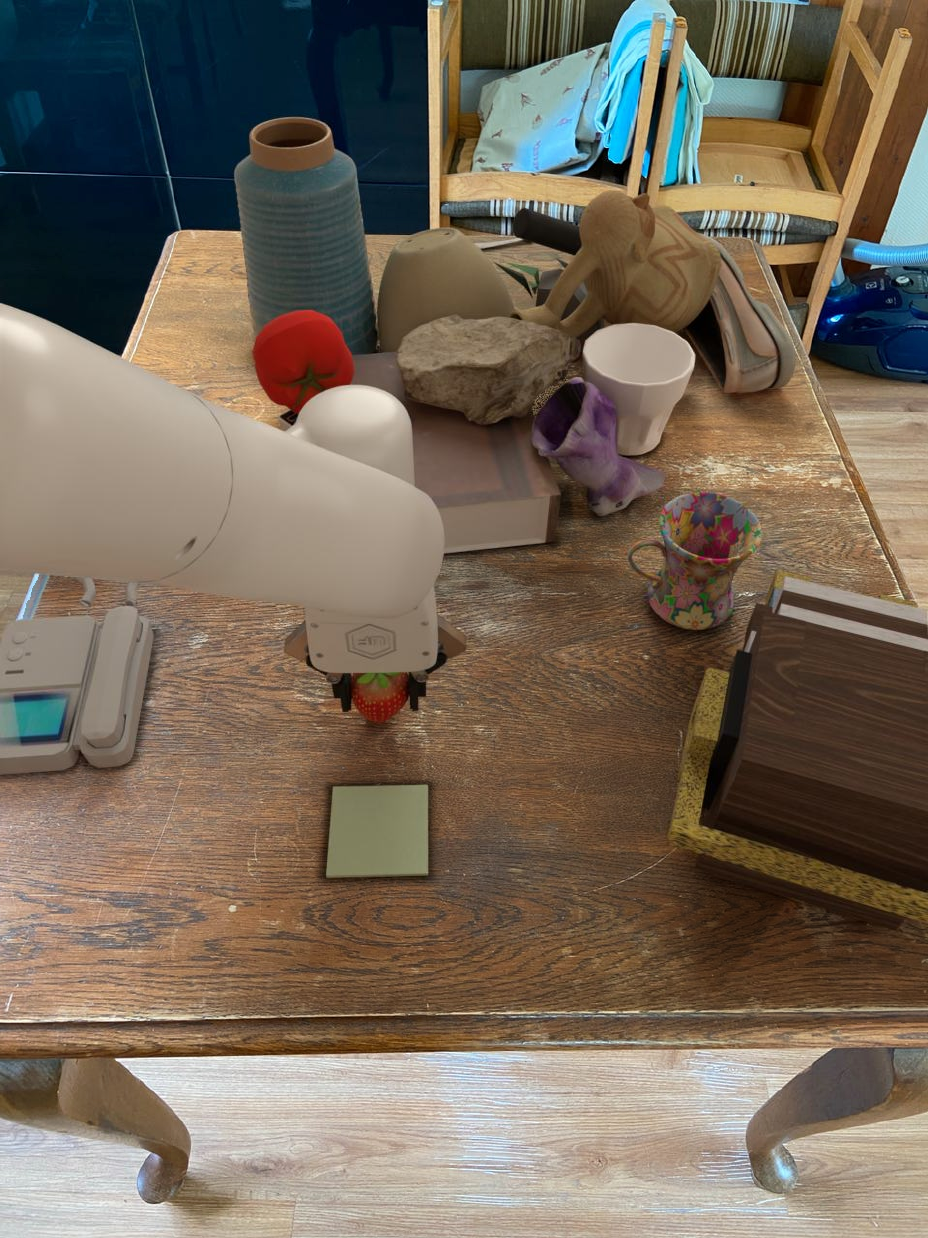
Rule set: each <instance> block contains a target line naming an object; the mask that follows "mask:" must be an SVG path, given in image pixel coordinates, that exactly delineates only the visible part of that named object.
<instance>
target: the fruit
mask: <svg viewBox="0 0 928 1238" xmlns="http://www.w3.org/2000/svg"><path fill="white" fill-rule="evenodd" d="M351 675H352V678H351V682H350V693H351V697H352V702H353V704H354V706H355V708H356V710H357V711H358V712H359V713H360V714H361V715H362V716H363V717H364V719H366V720H368V721H370V722H373V723H384V722H387V721H389V720H390V719H392V718H393V717H394V716H395V715H396V714H398V712H400V710H402V708H404V706H405V705H406V703H407V702H408V700H409V672H387V673H352V674H351Z"/></svg>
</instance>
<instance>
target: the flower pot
mask: <svg viewBox="0 0 928 1238" xmlns="http://www.w3.org/2000/svg"><path fill="white" fill-rule="evenodd" d="M474 243H475V242H473V241H472V240H471V239H470V238H469V237H467V235H465V234H464V233H463V232H462V231H460V230H459V229H458V228H454V227H437V228H430V229H426V230H421V231H419V232H416V233H412V234H410V235H408V236H405V237H404V238H402V239H400V240H398V241H397V242H396V243H395V244H394V245H393V247H392V248H391V250H390V253H389V255H388V258H387V260H386V263H385V266H384V268H383V272H382V275H381V280H380V283H379V289H378V295H377V305H376V315H377V320H376V321H377V324H378V334H379V339H378V342H379V345H380V350H381V353H387V352H397V351H398V349H399V347H400V344H401V341H402V340H403V337H404V336H406V335H407V334H408V333H410V332H411V331H412V330H414V329H416V328H417V327H419V326H421V325H423V324H427V323H429V322H431V321H433V320H436V319H439V318H444V317H449V316H452V315H454V314H457V315H459V316H460V317H461V318H462V319H473V320H479V319H487V318H491V317H498V316H500V317H508V318H509V316H510V314H511V313H512V312H513V311H516V310H515V307H514V304H513V301H512V299H511V298H512V297H511V296H510V293H509V291H508V289H507V286H506V284H505V281H504V280H503V278H502V276H501V274H500V273H499V271H498V269H497V268H496V266H495V264H494V263H493V262H492V261H491V259H490V258H489V256H487V255H486V253H485V252H484V251H483V250H482V248H481V249H480V248H479V247H478V246H477V245H475V244H474Z"/></svg>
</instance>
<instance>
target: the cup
mask: <svg viewBox="0 0 928 1238" xmlns="http://www.w3.org/2000/svg"><path fill="white" fill-rule="evenodd" d="M582 354H583V359H582V370H583V371H582V372H583V374H582V375H583V380H584V382H590V383H592V384H593V385H594V386H595V387H596V388H597V389H598V390H599V391H601V392H602V393H603V394H605V395H606V396H608V397H609V398H610V399H611V400H612V402H613V403H614V405H615V408H616V413H617V416H616V430H617V454H618V455H619V456H639V455H643V454H646V453H649V452H651V451H653V450H654V449H655V448H656V447H657V446H658V445H659V444H660V443H661V440H662V439H661V438H662V435H663V433H664V430H665V428H666V425H667V423H668V421H669V419H670V416H671V415H672V412H673V410H674V408H675V405H676V404H677V403H678V402H679V401H680V400H681V399H682V398H683V396H684V393H685V391H686V389H687V386H688V384H689V381H690V379H691V376H692V374H693V371H694V369H695V363H696V354H695V351H694V350H693V348H692V347H691V345H690V343H689V342H688V341H687V340H686V339H684V338H682V337H681V336H680V335H678V334H677V333H676V332H675V333H674V332H672V331H669V330H666V329H663V328H660V327H658V326H655V325H647V324H639V323H627V324H614V325H611V324H610V325H608V326H606V327H604V328H603V329H600V330H597V331H596V332H595V333H594V334H593V335H591V336H590V337H589V338H588V339H587V340H586V341H585V344H584V348H583V352H582Z"/></svg>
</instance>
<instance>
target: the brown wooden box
mask: <svg viewBox="0 0 928 1238" xmlns="http://www.w3.org/2000/svg"><path fill="white" fill-rule="evenodd" d="M812 579H813V578H812V577H811V576H806V575H802V574H798V573H793V572H789V571H785V570H781V569H777V568H776V570H775V573H774V575H773V577H772V580H771V583H770V585H769V588H768V590H767V593H766V597H765V604H762V603H758V602H755V605H754V608H753V611H752V614H751V617H750V619H749V622H748V624H747V627H746V631H745V636H744V642H743V648H742V650H741V649H737V650H736V651H735V654H734V657H733V660H732V662H731V665H730V668H729V671H724V670H722V669H721V670H720V669H716V668H713V667H709V666H707V667H706V670H705V672H704V676H703V679H702V682H701V684H700V687H699V690H698V693H697V696H696V699H695V702H694V705H693V707H692V711H691V714H690V716H689V722H688V727H687V732H686V736H685V740H684V746H683V750H682V754H681V759H680V765H679V769H678V775H677V779H676V784H678V785H677V790H676V795H675V800H674V805H673V810H672V815H671V820H670V824H669V829H668V834H667V839H666V844H667V845H671V846H673V847H677V848H680V849H682V850H683V849H684V850H687V851H690V852H694V853H696V854H697V855H696V861H695V866H694V869H695V870H697V871H700V872H703V873H707V874H711V875H713V876H717V877H720V878H723V879H726V880H729V881H733V882H737V883H739V884H743V885H746V886H748V887H749V886H750V887H752V888H756V889H759V890H763V891H766V892H768V893H772V894H775V895H778V896H780V897H781V896H782V897H785V898H787V899H791V900H794V901H797V902H801V903H804V904H807V905H810V906H814V907H817V908H820V909H823V910H826V911H830V912H833V913H836V914H840V915H843V916H846V917H849V918H852V919H854V920H855V919H856V920H857V921H862V922H864V923H867V924H871V925H875V926H878V927H880V928H884V929H887V930H891V931H893V932H896V931H897V929H899V927H900V926H901V925H902V923H904V921H905V920H906V919H910V920H911V919H912V920H915V921H918V922H921V923H925V924H928V609H924V608H920V607H918V602H915V601H910V600H906V599H902V598H898V597H894V596H890V595H885V594H881V593H880V595H879V596H878V597H873V596H869V595H866V594H861V593H857V592H852V591H848V590H845V589H840V588H836V587H832V586H828V585H824V584H819V583H815V582H812ZM702 809H704V815H703V821H702V825H701V824H700V819H701V814H702Z"/></svg>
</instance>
